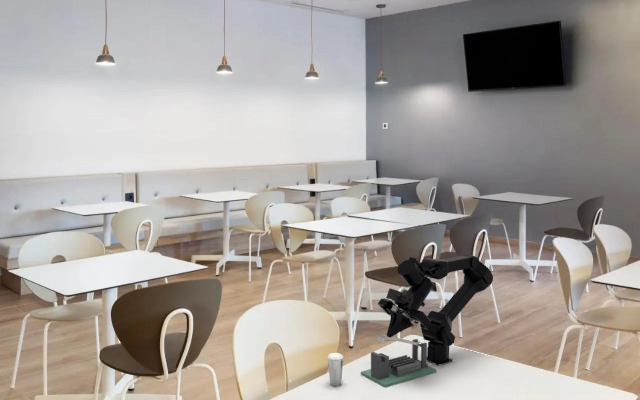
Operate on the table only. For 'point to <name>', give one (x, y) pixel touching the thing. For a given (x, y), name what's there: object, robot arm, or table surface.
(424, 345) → the bracket
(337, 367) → the milkshake
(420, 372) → the board
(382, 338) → the metal bar
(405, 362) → the heatsink
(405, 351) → the table surface
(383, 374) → the lug block
